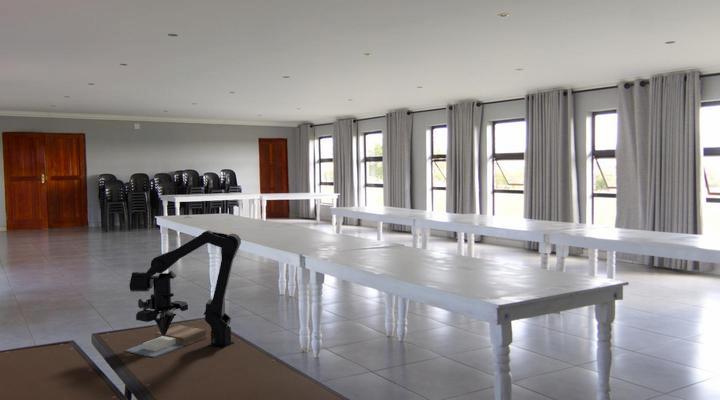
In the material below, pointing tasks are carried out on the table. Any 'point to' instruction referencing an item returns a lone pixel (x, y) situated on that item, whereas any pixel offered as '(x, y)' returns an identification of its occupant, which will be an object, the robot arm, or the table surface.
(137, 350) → the mat
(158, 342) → the cream rectangular block
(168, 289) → the robot arm
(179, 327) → the deck
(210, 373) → the table surface
